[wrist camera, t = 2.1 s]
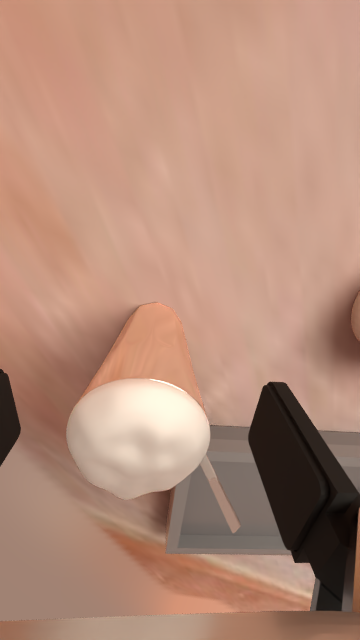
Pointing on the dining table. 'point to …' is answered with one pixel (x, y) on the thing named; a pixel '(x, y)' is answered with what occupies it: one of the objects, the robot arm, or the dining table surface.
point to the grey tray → (238, 498)
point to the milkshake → (144, 414)
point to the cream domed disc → (356, 317)
